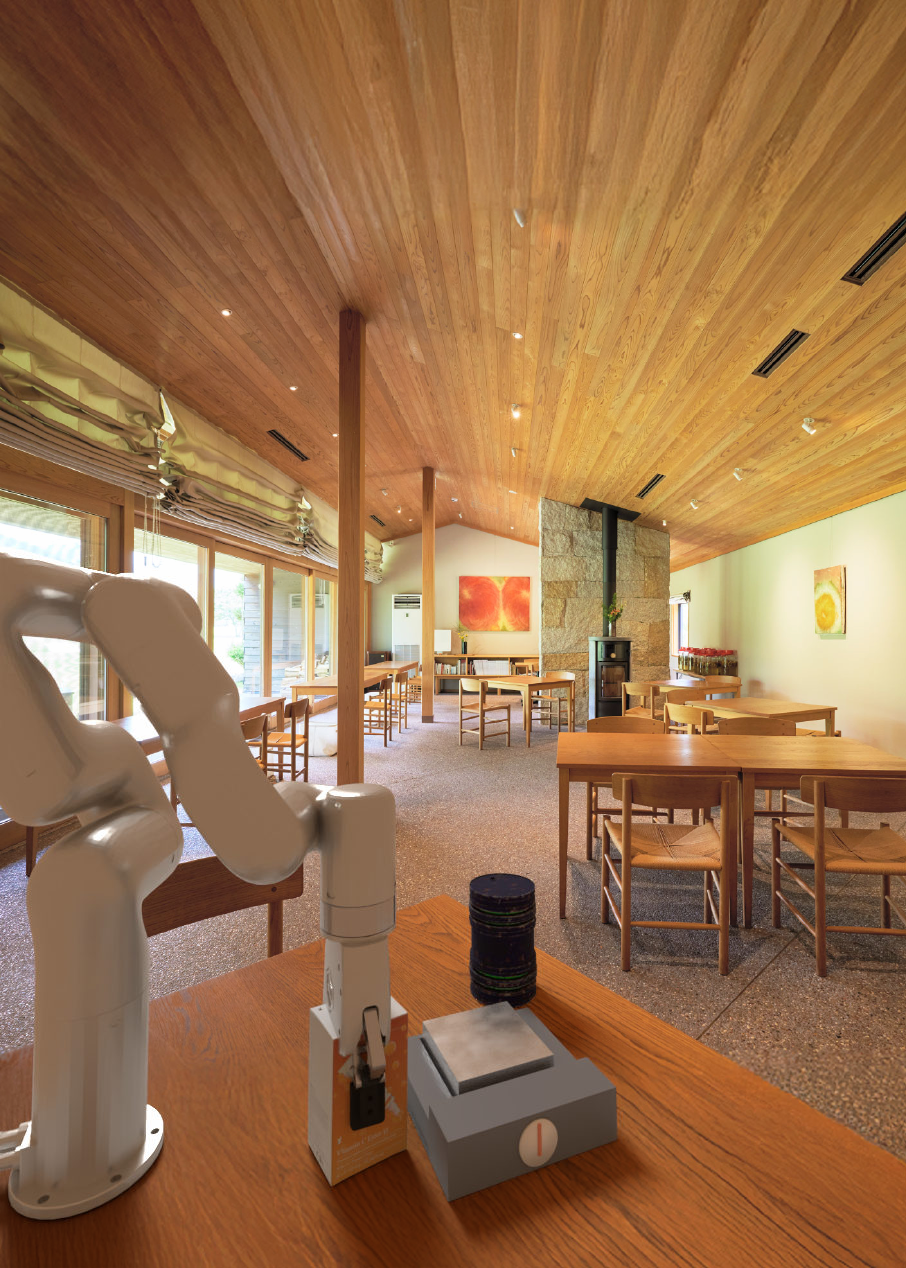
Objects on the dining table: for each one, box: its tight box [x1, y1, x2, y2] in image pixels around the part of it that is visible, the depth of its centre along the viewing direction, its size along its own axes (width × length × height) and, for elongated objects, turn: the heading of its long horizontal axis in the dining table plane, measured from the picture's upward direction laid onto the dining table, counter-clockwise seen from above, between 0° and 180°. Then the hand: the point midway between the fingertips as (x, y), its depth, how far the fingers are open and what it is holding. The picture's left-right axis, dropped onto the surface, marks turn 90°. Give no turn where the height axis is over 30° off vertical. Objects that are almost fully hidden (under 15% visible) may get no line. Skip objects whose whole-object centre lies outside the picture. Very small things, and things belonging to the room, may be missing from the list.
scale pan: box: [422, 1001, 554, 1097], centre depth 66 cm, size 11×11×3 cm
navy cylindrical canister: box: [468, 872, 538, 1009], centre depth 87 cm, size 10×10×15 cm
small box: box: [307, 995, 409, 1187], centre depth 59 cm, size 8×6×13 cm
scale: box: [407, 1007, 618, 1203], centre depth 64 cm, size 18×18×5 cm
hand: (358, 1095), depth 59 cm, fingers closed on small box, 7 cm apart
